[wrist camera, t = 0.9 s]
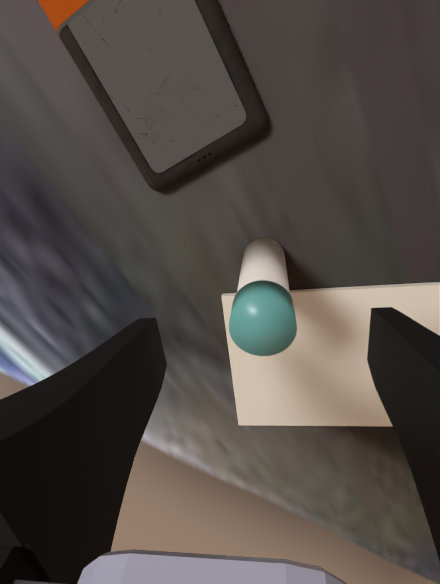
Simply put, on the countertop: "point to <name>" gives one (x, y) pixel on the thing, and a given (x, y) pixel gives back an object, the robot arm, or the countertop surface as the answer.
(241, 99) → the phone
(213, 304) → the countertop surface
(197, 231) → the countertop surface
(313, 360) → the notepad
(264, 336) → the marker
